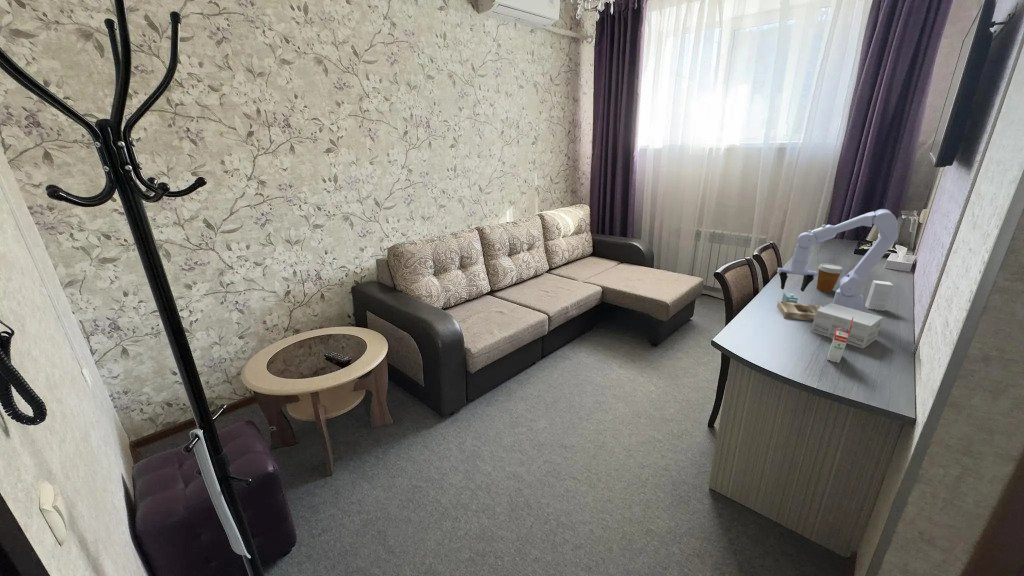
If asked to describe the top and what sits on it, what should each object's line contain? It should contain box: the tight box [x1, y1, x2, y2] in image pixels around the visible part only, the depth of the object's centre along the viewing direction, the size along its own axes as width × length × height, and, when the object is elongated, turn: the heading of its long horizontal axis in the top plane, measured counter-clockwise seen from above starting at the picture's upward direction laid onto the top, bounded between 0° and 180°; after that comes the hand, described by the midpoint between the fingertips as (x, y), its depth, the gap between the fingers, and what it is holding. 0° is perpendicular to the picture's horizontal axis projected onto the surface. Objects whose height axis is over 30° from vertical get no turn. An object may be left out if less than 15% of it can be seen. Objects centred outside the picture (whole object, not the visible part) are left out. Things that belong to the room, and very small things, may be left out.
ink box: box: [826, 318, 853, 364], centre depth 138 cm, size 4×8×15 cm, turn 140°
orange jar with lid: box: [816, 263, 844, 293], centre depth 199 cm, size 10×10×12 cm
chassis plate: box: [776, 300, 823, 322], centre depth 173 cm, size 16×12×3 cm
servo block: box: [781, 292, 799, 303], centre depth 184 cm, size 4×9×5 cm, turn 161°
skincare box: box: [864, 279, 894, 311], centre depth 178 cm, size 6×4×12 cm
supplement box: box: [810, 302, 884, 349], centre depth 155 cm, size 17×13×9 cm
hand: (792, 289), depth 183 cm, fingers open, 7 cm apart
